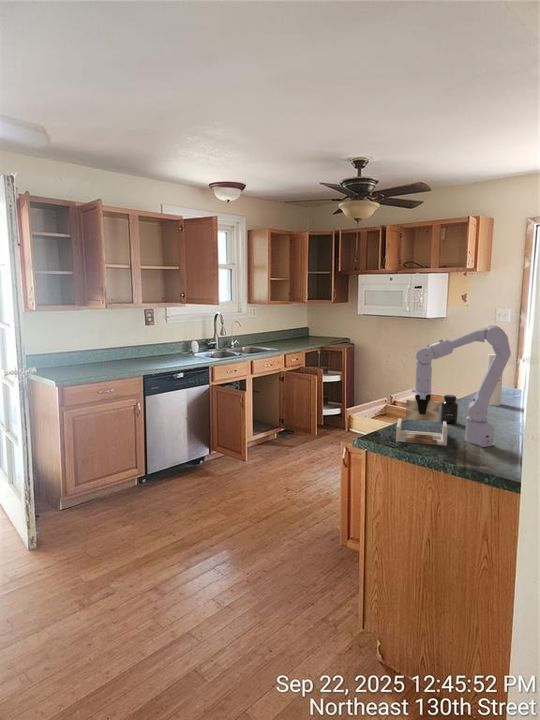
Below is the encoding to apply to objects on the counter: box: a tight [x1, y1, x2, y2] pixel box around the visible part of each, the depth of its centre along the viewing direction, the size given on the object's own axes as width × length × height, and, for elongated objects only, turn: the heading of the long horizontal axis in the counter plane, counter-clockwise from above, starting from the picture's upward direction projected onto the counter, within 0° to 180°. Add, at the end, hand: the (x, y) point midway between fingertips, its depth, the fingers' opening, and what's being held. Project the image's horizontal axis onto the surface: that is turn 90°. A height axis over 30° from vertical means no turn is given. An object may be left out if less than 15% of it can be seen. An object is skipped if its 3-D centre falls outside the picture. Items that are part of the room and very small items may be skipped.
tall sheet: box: [405, 399, 440, 423], centre depth 185 cm, size 12×2×8 cm, turn 72°
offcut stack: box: [405, 434, 437, 445], centre depth 179 cm, size 11×3×2 cm, turn 72°
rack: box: [395, 418, 448, 446], centre depth 183 cm, size 18×14×6 cm
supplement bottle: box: [439, 394, 459, 426], centre depth 205 cm, size 7×7×12 cm
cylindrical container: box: [486, 353, 504, 407], centre depth 238 cm, size 7×7×25 cm
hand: (422, 413), depth 185 cm, fingers closed on tall sheet, 2 cm apart
